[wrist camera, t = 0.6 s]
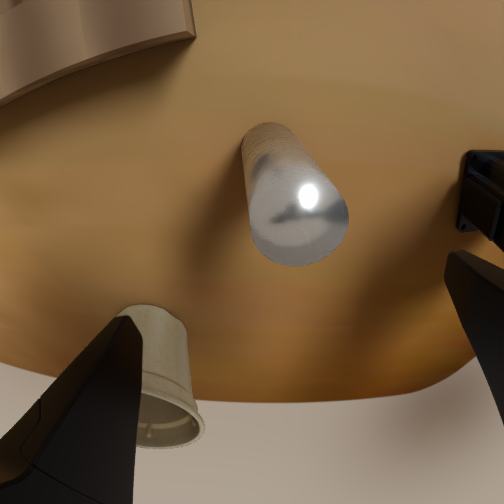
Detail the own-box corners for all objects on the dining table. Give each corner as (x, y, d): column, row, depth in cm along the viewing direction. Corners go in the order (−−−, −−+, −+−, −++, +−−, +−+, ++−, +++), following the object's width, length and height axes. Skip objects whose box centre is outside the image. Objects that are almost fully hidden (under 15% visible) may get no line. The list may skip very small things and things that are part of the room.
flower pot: (225, 352, 27) (227, 443, 20) (136, 372, 28) (122, 452, 21) (173, 271, 22) (154, 374, 15) (75, 304, 23) (39, 391, 16)
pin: (294, 119, 17) (348, 173, 9) (299, 171, 19) (347, 258, 11) (237, 126, 17) (244, 185, 9) (245, 178, 19) (256, 272, 11)
